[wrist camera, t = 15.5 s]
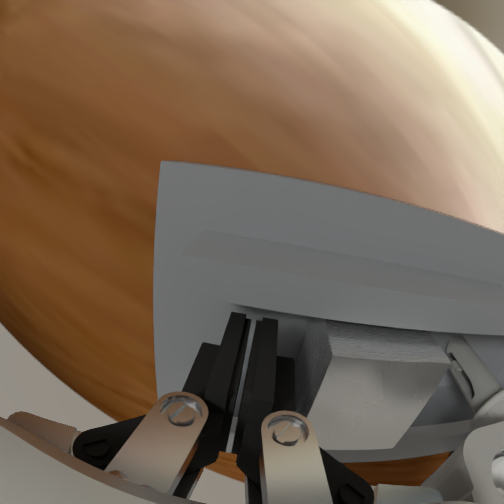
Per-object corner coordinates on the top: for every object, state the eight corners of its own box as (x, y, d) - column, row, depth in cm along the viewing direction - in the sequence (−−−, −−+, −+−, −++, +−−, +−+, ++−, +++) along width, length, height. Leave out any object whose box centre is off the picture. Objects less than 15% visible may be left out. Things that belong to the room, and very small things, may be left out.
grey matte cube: (292, 376, 12) (292, 447, 8) (317, 289, 11) (332, 355, 7) (373, 383, 12) (392, 448, 8) (409, 303, 10) (451, 362, 7)
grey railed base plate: (167, 423, 16) (142, 484, 11) (172, 160, 11) (99, 166, 6) (452, 439, 15) (470, 486, 10) (553, 253, 10) (605, 286, 5)
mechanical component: (498, 367, 11) (569, 483, 2) (354, 370, 12) (393, 581, 2) (520, 325, 10) (611, 435, 1) (374, 316, 11) (465, 553, 2)
